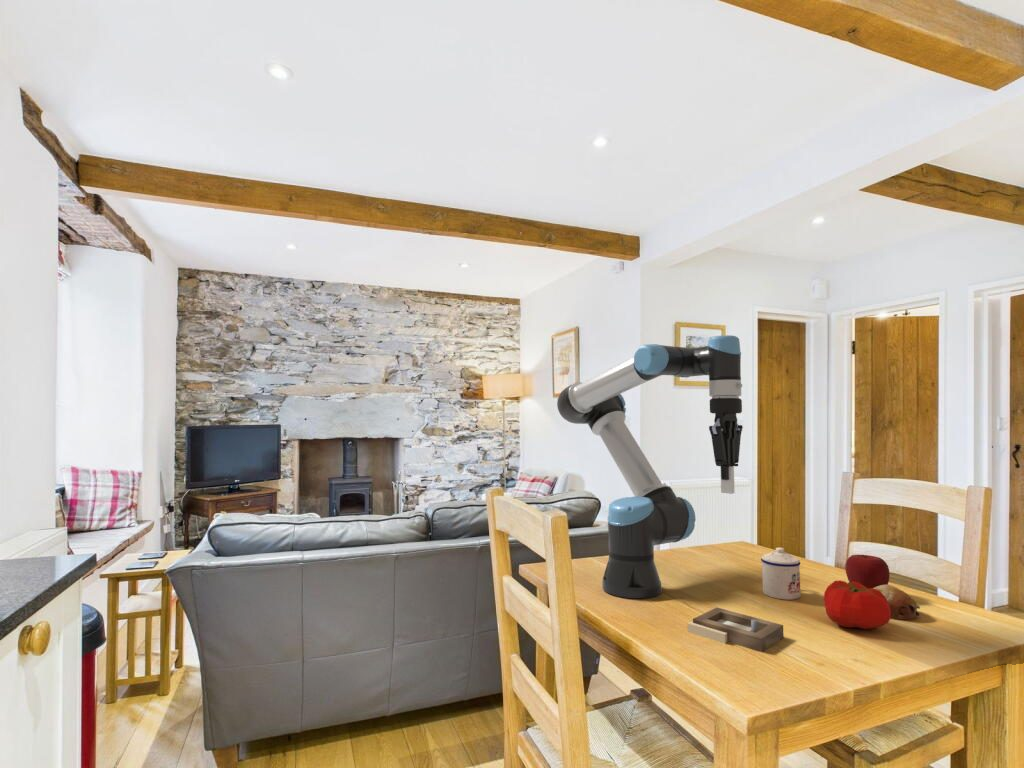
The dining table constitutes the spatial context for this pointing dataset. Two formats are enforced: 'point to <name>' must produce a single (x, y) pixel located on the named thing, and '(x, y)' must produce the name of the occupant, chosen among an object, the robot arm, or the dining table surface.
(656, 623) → the dining table surface
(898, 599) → the bread roll
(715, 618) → the walnut frame
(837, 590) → the tomato
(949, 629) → the dining table surface
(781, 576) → the teacup with lid
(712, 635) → the wall panel
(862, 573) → the apple
